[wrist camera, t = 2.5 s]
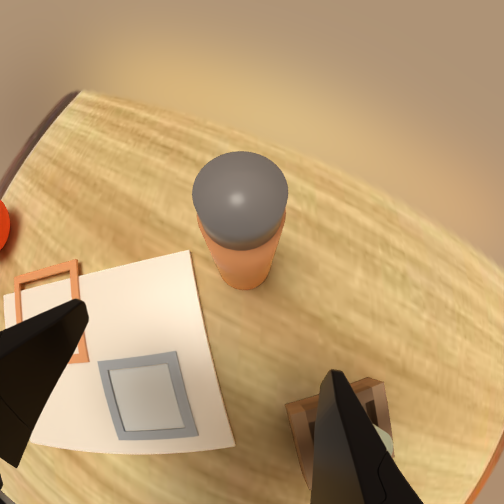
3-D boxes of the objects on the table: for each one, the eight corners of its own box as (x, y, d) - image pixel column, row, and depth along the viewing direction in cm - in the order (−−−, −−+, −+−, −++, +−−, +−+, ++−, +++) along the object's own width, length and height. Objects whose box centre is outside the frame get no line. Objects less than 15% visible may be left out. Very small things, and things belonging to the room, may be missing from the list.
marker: (275, 283, 22) (304, 225, 10) (224, 295, 21) (197, 249, 10) (262, 235, 23) (275, 141, 11) (214, 246, 22) (183, 159, 11)
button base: (379, 445, 18) (394, 457, 15) (302, 473, 17) (309, 489, 14) (367, 377, 19) (383, 382, 17) (284, 404, 19) (290, 414, 16)
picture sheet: (235, 443, 18) (235, 447, 17) (34, 441, 16) (29, 443, 15) (187, 235, 23) (185, 231, 22) (6, 283, 21) (1, 281, 20)
